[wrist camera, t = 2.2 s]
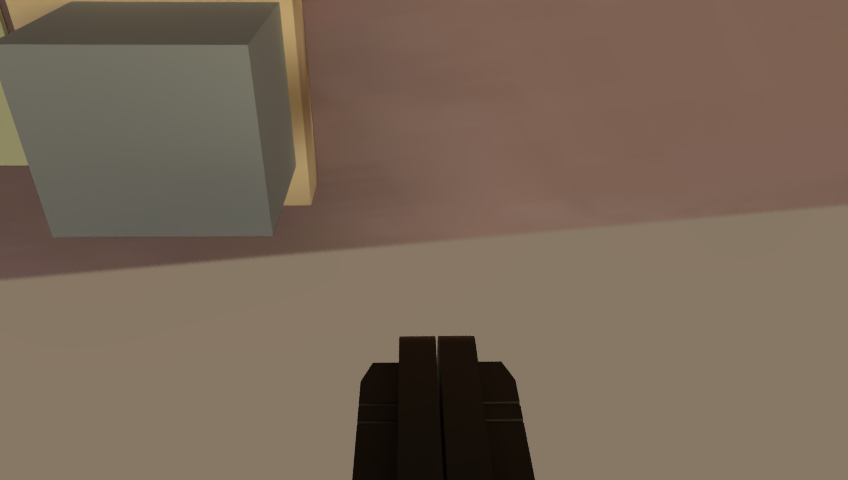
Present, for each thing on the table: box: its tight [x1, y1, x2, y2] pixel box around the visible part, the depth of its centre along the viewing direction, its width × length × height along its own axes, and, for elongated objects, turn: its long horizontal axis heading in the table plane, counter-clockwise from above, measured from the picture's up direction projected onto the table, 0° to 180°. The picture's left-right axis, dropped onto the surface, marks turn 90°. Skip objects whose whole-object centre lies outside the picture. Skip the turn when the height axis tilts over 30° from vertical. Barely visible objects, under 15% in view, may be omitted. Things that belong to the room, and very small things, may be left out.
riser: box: [5, 0, 317, 205], centre depth 29 cm, size 11×11×2 cm
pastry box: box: [0, 1, 296, 237], centre depth 25 cm, size 7×8×6 cm
